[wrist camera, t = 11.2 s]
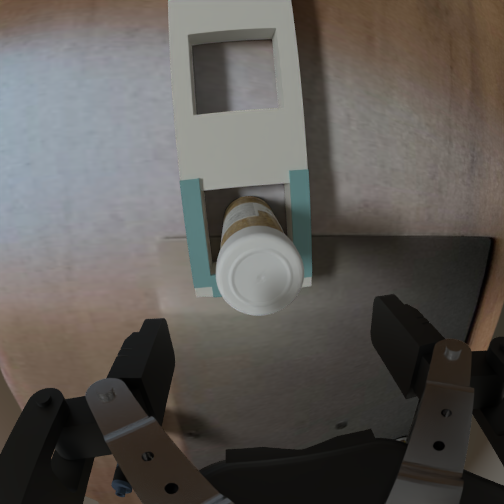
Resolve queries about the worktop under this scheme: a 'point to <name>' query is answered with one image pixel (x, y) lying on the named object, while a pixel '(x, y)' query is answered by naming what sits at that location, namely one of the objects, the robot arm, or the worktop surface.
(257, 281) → the sprinkles bottle
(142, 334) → the robot arm
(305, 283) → the rail
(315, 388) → the worktop surface
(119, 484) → the vaping device
